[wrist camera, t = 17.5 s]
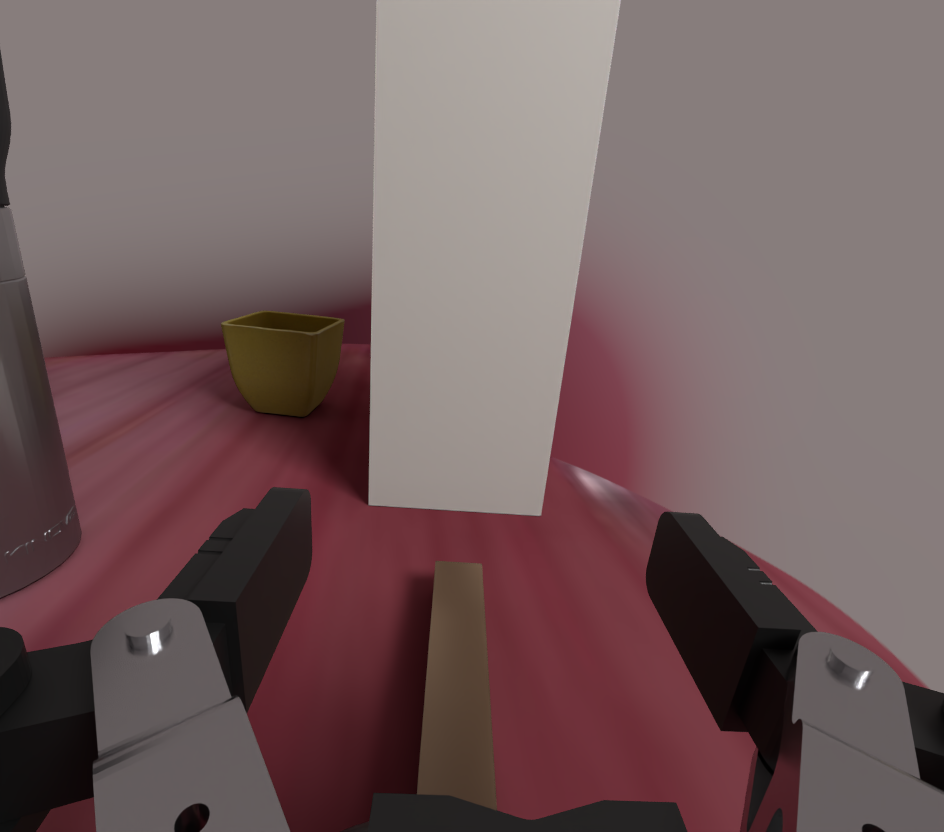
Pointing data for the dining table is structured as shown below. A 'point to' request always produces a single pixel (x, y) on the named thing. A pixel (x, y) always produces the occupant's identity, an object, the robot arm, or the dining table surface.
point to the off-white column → (478, 240)
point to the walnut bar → (457, 691)
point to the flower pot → (283, 359)
